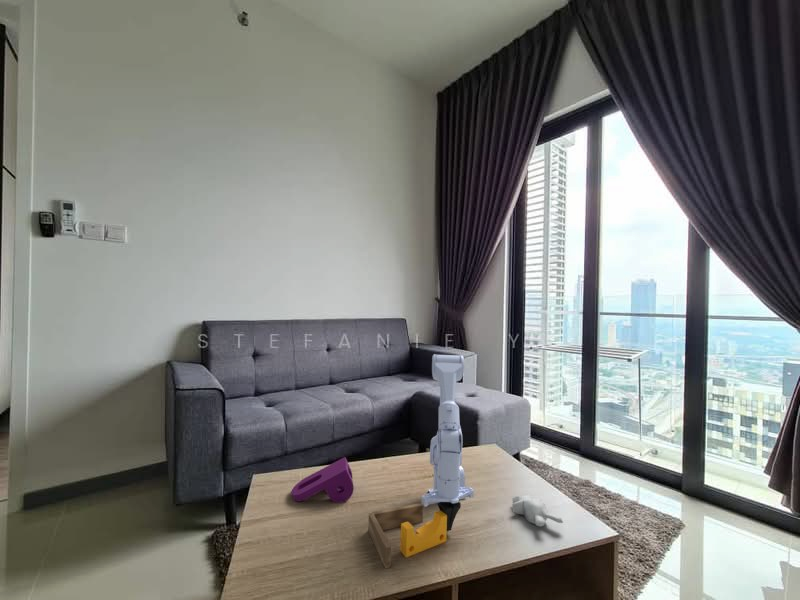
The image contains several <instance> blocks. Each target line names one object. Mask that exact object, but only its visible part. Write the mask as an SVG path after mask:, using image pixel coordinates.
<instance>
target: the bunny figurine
mask: <svg viewBox="0 0 800 600" xmlns="http://www.w3.org/2000/svg"><path fill="white" fill-rule="evenodd" d="M511 505H512V512H513V513H514V514H517V515H522V516H524V517H525V519H526V521H527V522H528V523H531V524H533V525H535V526H537V527H544V526H545V524H546V521H547V520H549V519H550V520H551V521H553V522H556V523H558V524H563V523H564V522H563V519H562V517H561V516H560V515H557V514H553V513H551V512H548V509H547V506H546V503H545V502H543V501H542V500H541V499H538V498H531V495H529V494H527V495H519V496H514V497H512V504H511Z"/></svg>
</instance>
